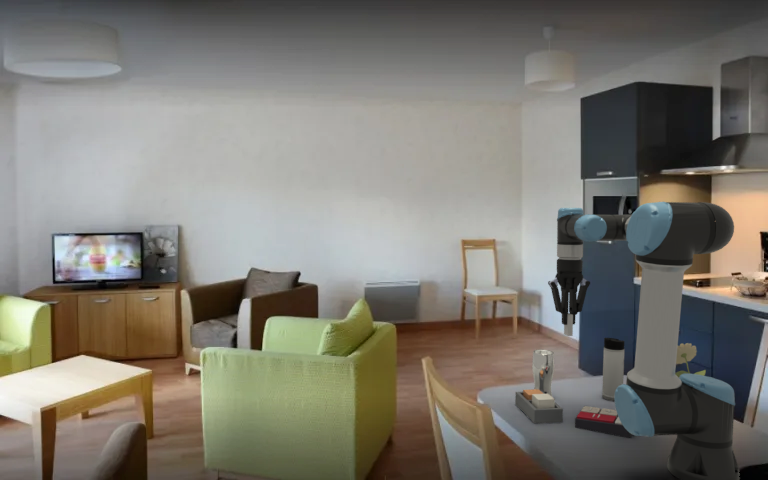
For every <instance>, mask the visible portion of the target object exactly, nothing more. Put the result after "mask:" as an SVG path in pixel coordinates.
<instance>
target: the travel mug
mask: <svg viewBox="0 0 768 480" xmlns="http://www.w3.org/2000/svg"><path fill="white" fill-rule="evenodd" d="M603 344H604V345H603V359H602V360H603V361H602V363H603V364H602V389H601V391H602V393H601V394H602V395H601V396H602V398H603V399H604V400H606V401H611V402H615V400H614V396H615V391H616V389H617V387H618V386H620V385H622V384H624V373H625V371H624V370H625V340H620V339H619V338H614V337H604V338H603Z"/></svg>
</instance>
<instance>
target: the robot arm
mask: <svg viewBox="0 0 768 480" xmlns="http://www.w3.org/2000/svg"><path fill="white" fill-rule="evenodd" d="M733 220H734V219H733V217H732V216H731V214H730V213H729V212H728V211H727V210H726V209H725V208H724V207H722V206H720V205H718V204H716V203H711V202H705V201H704V202H703V201H698V202H685V201H684V202H680V201H679V202H677V201H675V202H674V201H671V202H670V201H656V202H647V203H643V204H641V205H639V206H638V207H637V208H636V209H635V211H633V213H632V214H584V210H583V208H581V207H560V208H558V210H557V219H556V222H557V226H556V227H557V228H556V229H557V231H556V233H557V234H556V238H557V239H556V241H557V243H556V256H557V259H556V274H555V277H554V279H552V280H549V281H547V284H548V286H549V288H550V290H551V296H552V299H553V303H554V308H555V311H556V312H557V313H560V315H561V324H562V325H563V335H565V336H567V337H573V334H574V333H573V332H574V331H573V328H574V327H573V326H574V325H576V316H577V314H578V313H581V312H582V311H583V306H584V303H585V300H586V296H587V291H588V288H589V287H590V285H591V281H589V280H587V279H585V278H584V275H583V262H584V261H583V259H582V258H583V256H584V254H583V253H584V242H586V243H589V242H590V243H591V242H598V241H599V242H600V241H601V242H603V241H604V242H605V241H607V242H609V241H611V242H612V241H618V242H619V241H625V242H627V247H628V249H629V250H630V252H631V253H633V254H634V255H635V261H636V262H637V264H638V265H639V266H640V267H641V278H640V279H641V281H640V291H639V305H638V306H639V307H638V317H637V318H638V319H637V320H638V321H637V333H636V342H635V343H636V345H635V358H634V367H633V368H632V369H631V370H629V371H628V372H627V373H626V383H623V384H622V385H620V386H618V387H617V389H616V391H615V396H614V400H615V401H614V406H615V410H616V411H617V414H618V417H619V419H620V421H621V423H622V425H623V426H624V427H625V429H626V430H627V431H628V432H629V433H631V434H633V435H632V436H636V437H649V438H651V437H654V436H655V437H659V436H674V435H675V436H676V439H675V441H674V444H673V445H672V447H671V451H670V453H669V455H668V457H667V470H668V472H669V473H670V474H671V475H673V476H674V477H675V478H677V479H678V480H740V477H739V476H740V475H741V474H740V473H739V472H740V468H739V465H738V463H737V459H736V456H735V452H734V449H733V439H734V438H733V437H734V419H735V406H736V401H735V390H734V387H732V386H731V385H730V384H729V383H727V382H725V381H723V380H721V379H717V378H714V377H711V376H707V375H704V376H703V375H697V374H694V373H690V374H688V373H685V374H681V375H680V377H677V375H676V374H675V373H676V369H677V368H676V366H677V364H676V357H677V346H679V345H678V344H679V335H680V322H681V321H680V320H681V310H682V300H683V298H682V297H683V287H684V276H685V275H684V274H685V272H686V271H687V270H688V269H690V268H691V267H692V265H693V260H694V259H693V258H694V255H705V254H706V255H707V254H712V253H716V252H718V251H720V250H722V249H724V248H725V246H727V245H728V244H729V243H730V242H731V240H732V237H733V236H734V233H735V223H734V221H733ZM579 285H580V286H579ZM558 286H560V291H561V292H560V291H559V287H558ZM578 287H579V289H578ZM577 292H578V293H577ZM560 293H561V295H560Z"/></svg>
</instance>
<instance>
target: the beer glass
mask: <svg viewBox="0 0 768 480" xmlns="http://www.w3.org/2000/svg"><path fill="white" fill-rule="evenodd" d="M554 352H555V351H552V350H549V349H534V350H533V352H532V361H531V362H532V364H531V365H532V367H531V368H532V369H531V370H532V376H533V381H534V385H533V387H534V389H539V390H540V391H543V392H544V393H545V394H549V395H550V396H552V397H553V393H552V383H553V382H552V381H553V377H554V371H555V353H554Z"/></svg>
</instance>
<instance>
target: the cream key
mask: <svg viewBox="0 0 768 480" xmlns="http://www.w3.org/2000/svg"><path fill="white" fill-rule="evenodd" d="M555 403H556V402H555V397H553V395H552V396H550V395H549V394H532V405H533V406H534V407H535V408H536V409H543V408H555Z"/></svg>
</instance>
